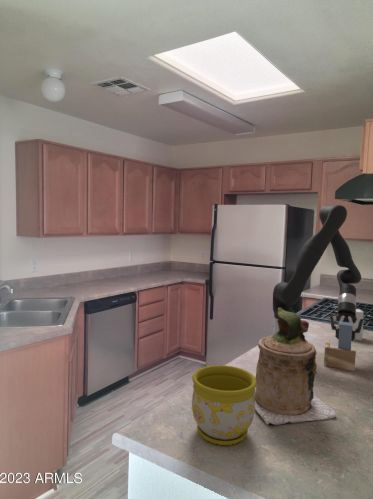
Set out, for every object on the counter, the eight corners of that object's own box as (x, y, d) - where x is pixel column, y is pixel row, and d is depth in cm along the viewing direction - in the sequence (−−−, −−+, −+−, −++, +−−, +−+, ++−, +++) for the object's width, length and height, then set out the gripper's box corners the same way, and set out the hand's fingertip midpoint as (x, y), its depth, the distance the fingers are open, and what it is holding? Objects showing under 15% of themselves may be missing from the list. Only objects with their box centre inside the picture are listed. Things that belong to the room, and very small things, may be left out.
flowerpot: (177, 431, 105) (179, 375, 104) (218, 409, 118) (220, 360, 116) (226, 462, 92) (229, 399, 91) (266, 434, 105) (269, 378, 103)
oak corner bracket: (325, 357, 167) (326, 340, 166) (354, 362, 162) (355, 344, 162) (323, 365, 157) (324, 347, 156) (354, 371, 152) (355, 352, 151)
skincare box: (358, 337, 198) (360, 308, 197) (362, 341, 192) (364, 311, 191) (342, 336, 199) (343, 308, 198) (346, 340, 193) (348, 311, 191)
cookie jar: (267, 428, 108) (273, 322, 105) (234, 390, 132) (238, 302, 129) (339, 418, 114) (345, 318, 112) (295, 384, 138) (300, 300, 136)
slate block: (337, 349, 157) (339, 324, 156) (338, 345, 161) (339, 321, 160) (350, 351, 155) (352, 325, 154) (350, 347, 159) (352, 322, 158)
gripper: (330, 299, 166) (326, 332, 156) (365, 302, 160) (364, 337, 150) (330, 308, 171) (327, 340, 161) (364, 312, 166) (363, 346, 156)
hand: (345, 339), depth 156 cm, fingers closed on slate block, 5 cm apart
